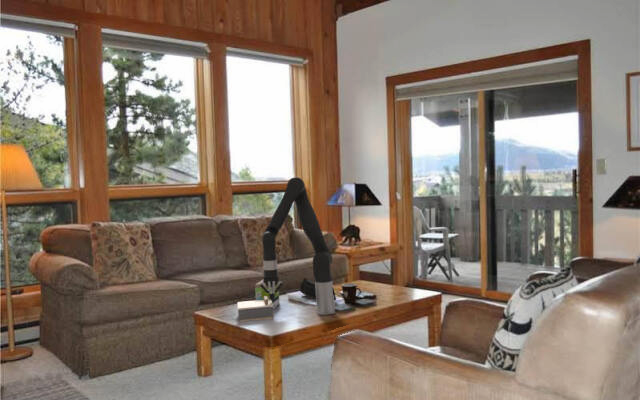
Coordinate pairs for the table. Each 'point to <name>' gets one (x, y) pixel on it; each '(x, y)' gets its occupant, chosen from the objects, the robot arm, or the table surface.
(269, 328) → the table surface
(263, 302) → the lid
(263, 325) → the table surface
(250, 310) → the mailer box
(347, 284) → the coffee mug
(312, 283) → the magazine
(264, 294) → the tea box
